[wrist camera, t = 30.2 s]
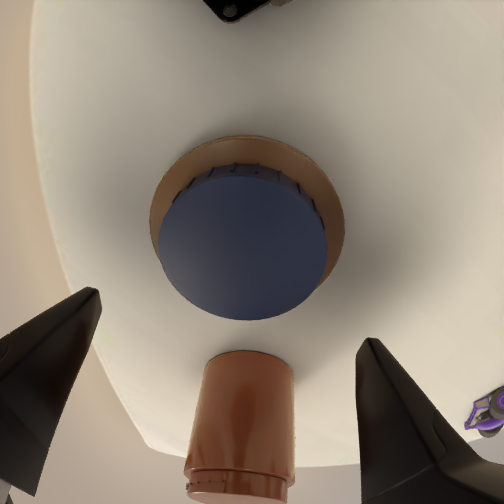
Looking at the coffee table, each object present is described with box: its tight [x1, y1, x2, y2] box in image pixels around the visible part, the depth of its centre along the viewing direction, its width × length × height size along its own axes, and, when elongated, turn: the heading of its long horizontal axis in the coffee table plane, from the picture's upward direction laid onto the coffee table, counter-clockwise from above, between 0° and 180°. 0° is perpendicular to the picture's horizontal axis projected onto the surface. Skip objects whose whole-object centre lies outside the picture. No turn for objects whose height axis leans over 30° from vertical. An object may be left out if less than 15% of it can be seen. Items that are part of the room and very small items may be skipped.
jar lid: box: [158, 162, 328, 320], centre depth 13 cm, size 7×7×2 cm
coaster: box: [149, 136, 345, 289], centre depth 14 cm, size 9×9×1 cm
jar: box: [184, 351, 295, 504], centre depth 16 cm, size 6×6×9 cm
